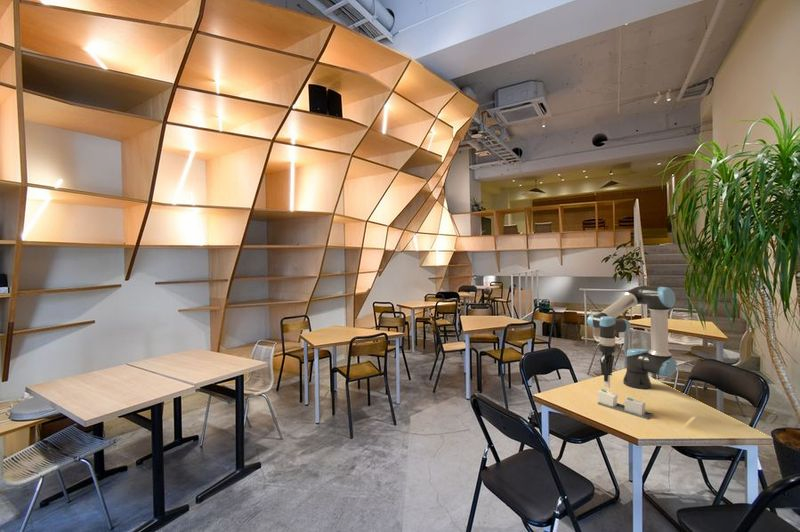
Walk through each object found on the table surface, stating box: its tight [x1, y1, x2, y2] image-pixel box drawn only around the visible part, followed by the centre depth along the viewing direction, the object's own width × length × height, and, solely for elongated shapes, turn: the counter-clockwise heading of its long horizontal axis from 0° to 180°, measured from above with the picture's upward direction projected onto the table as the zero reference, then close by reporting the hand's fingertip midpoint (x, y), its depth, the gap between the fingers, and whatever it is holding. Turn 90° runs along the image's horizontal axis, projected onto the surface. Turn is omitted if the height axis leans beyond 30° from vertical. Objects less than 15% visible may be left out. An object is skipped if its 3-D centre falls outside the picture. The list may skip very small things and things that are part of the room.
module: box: [597, 388, 619, 407], centre depth 204 cm, size 5×8×7 cm, turn 37°
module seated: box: [624, 396, 646, 416], centre depth 194 cm, size 5×8×7 cm, turn 37°
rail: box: [597, 401, 654, 420], centre depth 198 cm, size 8×25×2 cm, turn 37°
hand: (606, 386), depth 205 cm, fingers closed
